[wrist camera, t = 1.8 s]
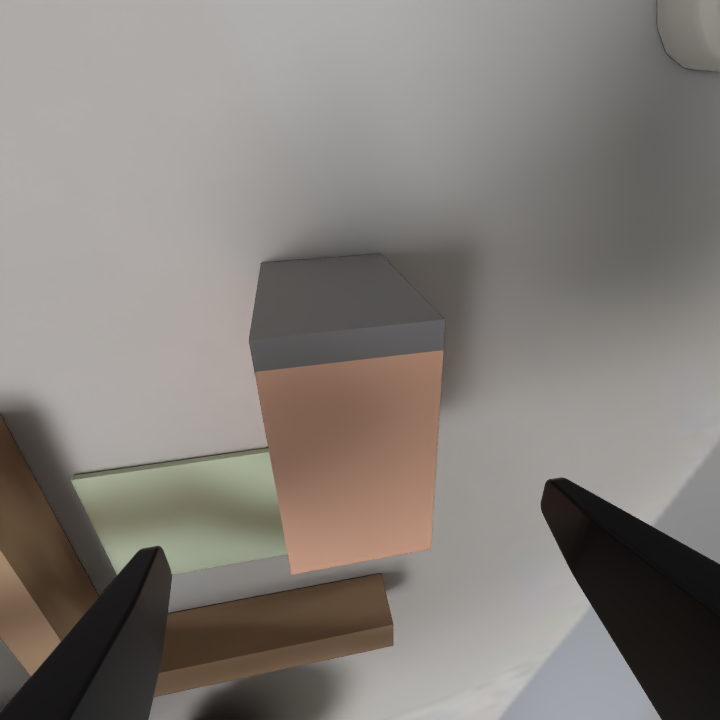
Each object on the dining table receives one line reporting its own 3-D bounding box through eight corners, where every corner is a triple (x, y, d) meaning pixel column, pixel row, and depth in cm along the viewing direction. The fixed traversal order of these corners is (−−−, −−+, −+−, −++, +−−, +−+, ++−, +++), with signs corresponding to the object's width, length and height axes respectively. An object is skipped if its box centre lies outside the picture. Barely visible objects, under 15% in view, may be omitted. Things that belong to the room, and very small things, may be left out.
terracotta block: (382, 422, 19) (430, 549, 13) (287, 436, 19) (291, 574, 13) (380, 253, 16) (445, 319, 10) (261, 263, 15) (248, 339, 9)
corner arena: (381, 594, 25) (393, 645, 23) (87, 651, 23) (62, 716, 20) (376, 368, 18) (393, 405, 15) (-59, 420, 16) (-127, 474, 13)
